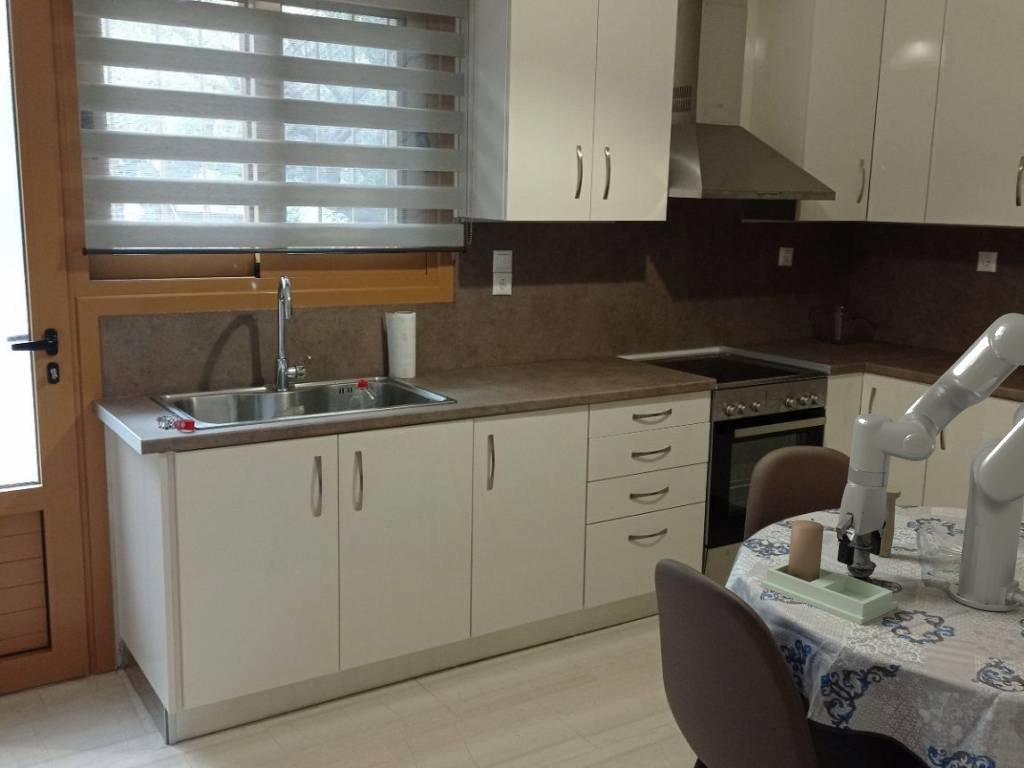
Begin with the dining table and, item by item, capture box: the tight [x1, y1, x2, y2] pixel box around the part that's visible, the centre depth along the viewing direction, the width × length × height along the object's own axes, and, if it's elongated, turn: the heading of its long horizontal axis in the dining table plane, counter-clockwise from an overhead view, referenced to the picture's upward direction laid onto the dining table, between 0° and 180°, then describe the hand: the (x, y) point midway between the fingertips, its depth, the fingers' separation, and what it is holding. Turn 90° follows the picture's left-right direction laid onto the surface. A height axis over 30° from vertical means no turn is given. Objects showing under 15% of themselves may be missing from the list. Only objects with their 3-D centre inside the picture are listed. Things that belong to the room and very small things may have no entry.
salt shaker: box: [846, 532, 877, 585], centre depth 200 cm, size 6×6×12 cm
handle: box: [878, 483, 902, 558], centre depth 214 cm, size 5×6×15 cm
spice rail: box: [760, 519, 898, 626], centre depth 191 cm, size 22×12×13 cm, turn 39°
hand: (858, 558), depth 200 cm, fingers open, 9 cm apart
